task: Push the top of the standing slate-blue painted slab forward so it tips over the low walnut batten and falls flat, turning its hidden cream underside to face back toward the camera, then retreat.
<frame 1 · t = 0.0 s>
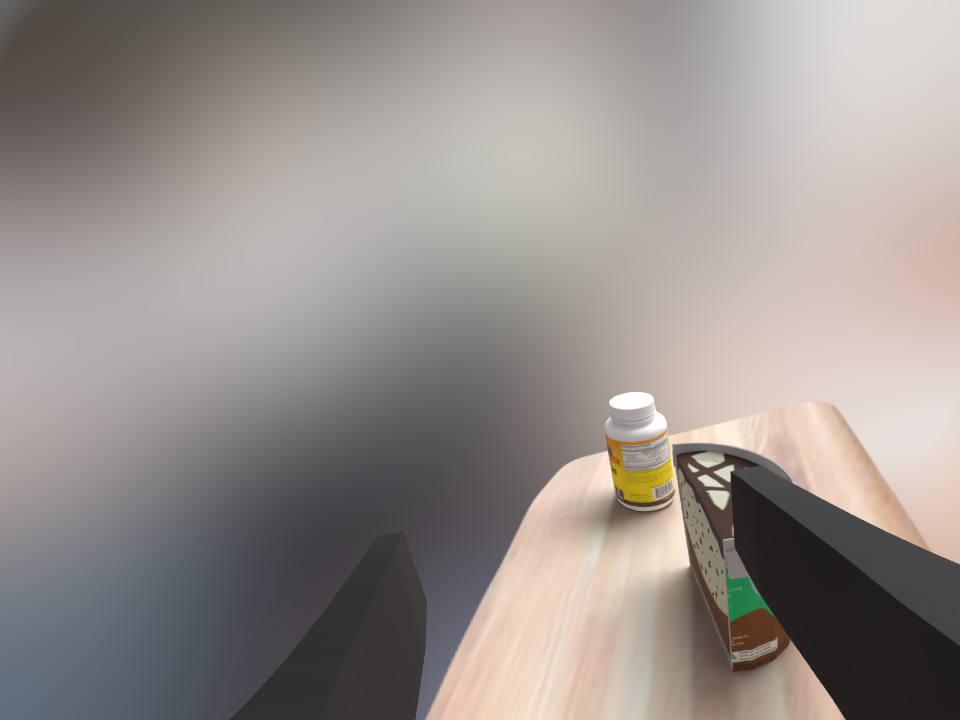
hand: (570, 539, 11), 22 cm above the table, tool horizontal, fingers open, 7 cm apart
food container: (756, 610, 34), on the table
supplement bottle: (645, 499, 49), on the table
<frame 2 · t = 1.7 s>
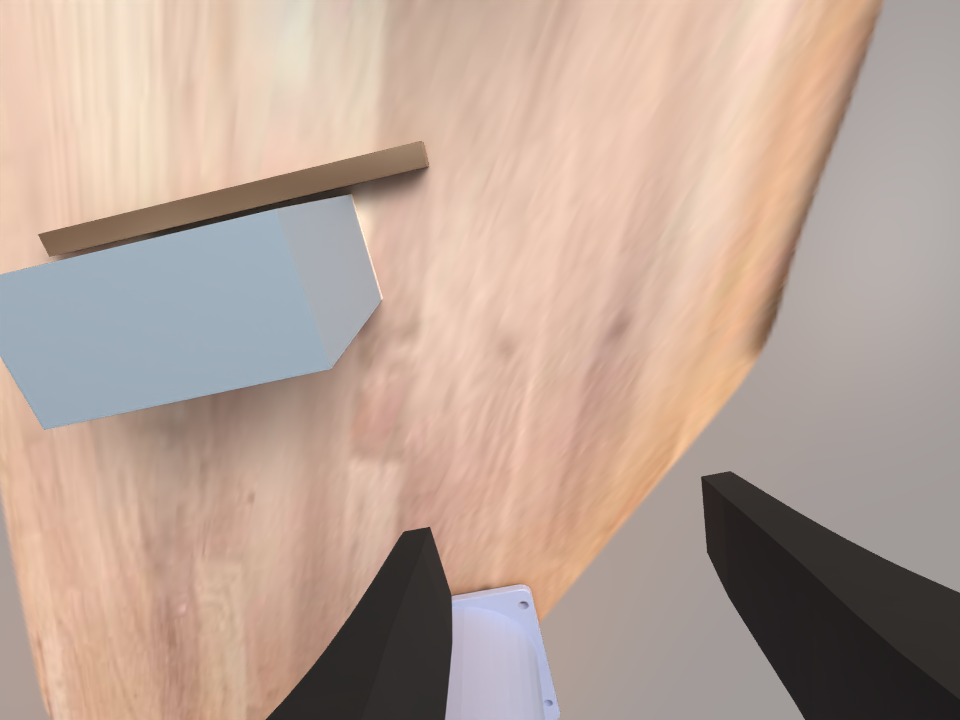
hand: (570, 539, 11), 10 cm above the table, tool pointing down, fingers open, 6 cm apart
block: (268, 270, 19), on the table
batten: (240, 199, 18), on the table
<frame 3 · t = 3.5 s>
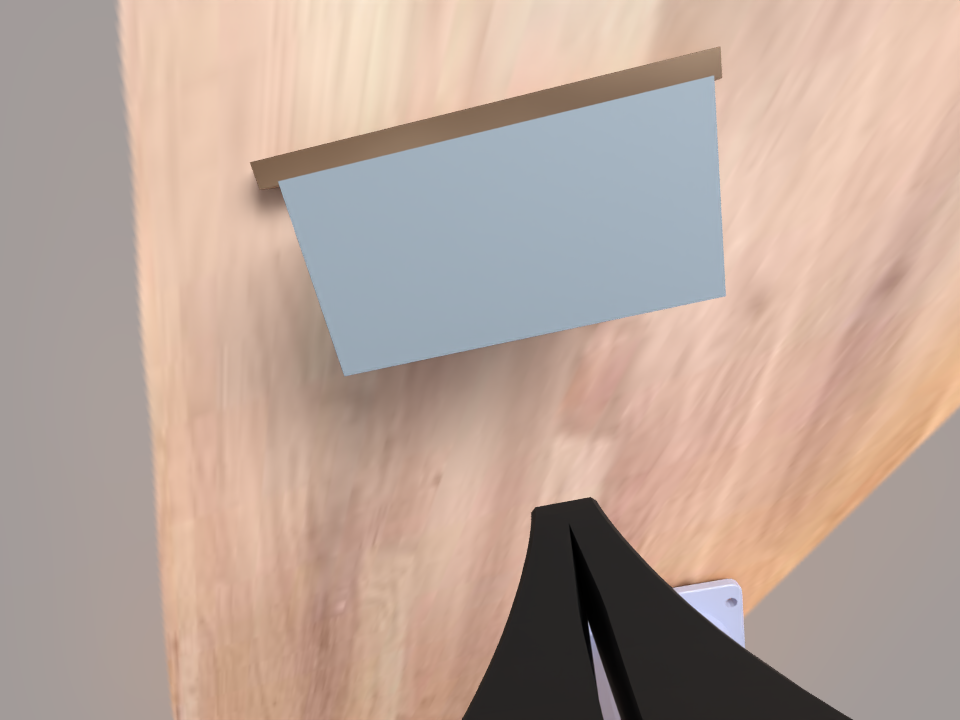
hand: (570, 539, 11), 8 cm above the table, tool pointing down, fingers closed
block: (497, 211, 17), on the table
batten: (479, 124, 16), on the table
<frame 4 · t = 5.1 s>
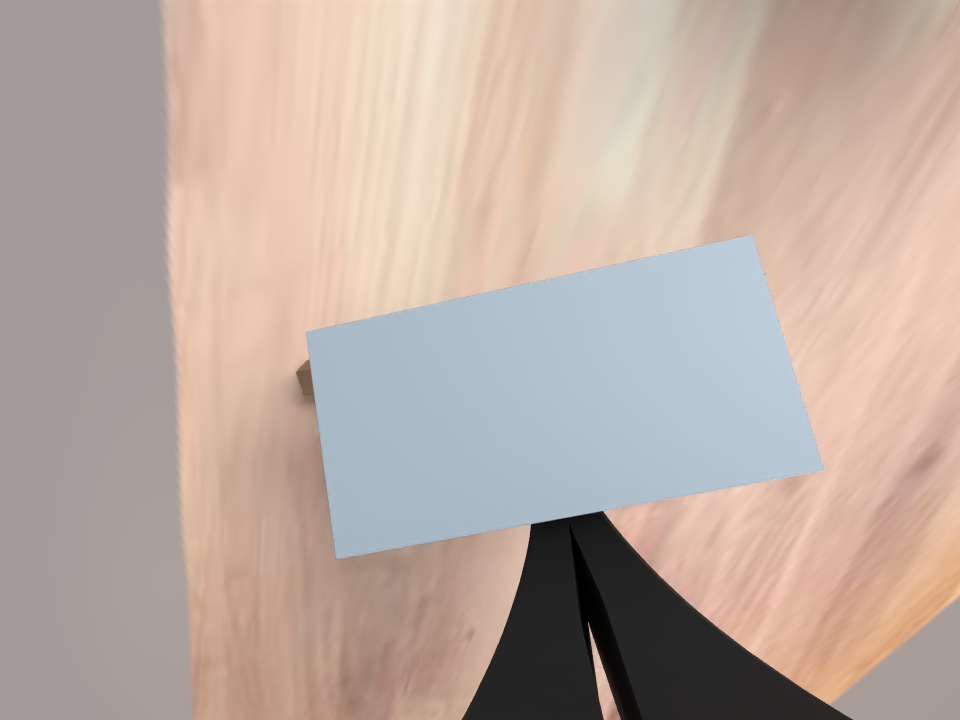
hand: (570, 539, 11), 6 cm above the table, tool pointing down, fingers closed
block: (540, 417, 16), point 1 cm above the table, tilted 30°, touching batten
batten: (522, 327, 16), on the table
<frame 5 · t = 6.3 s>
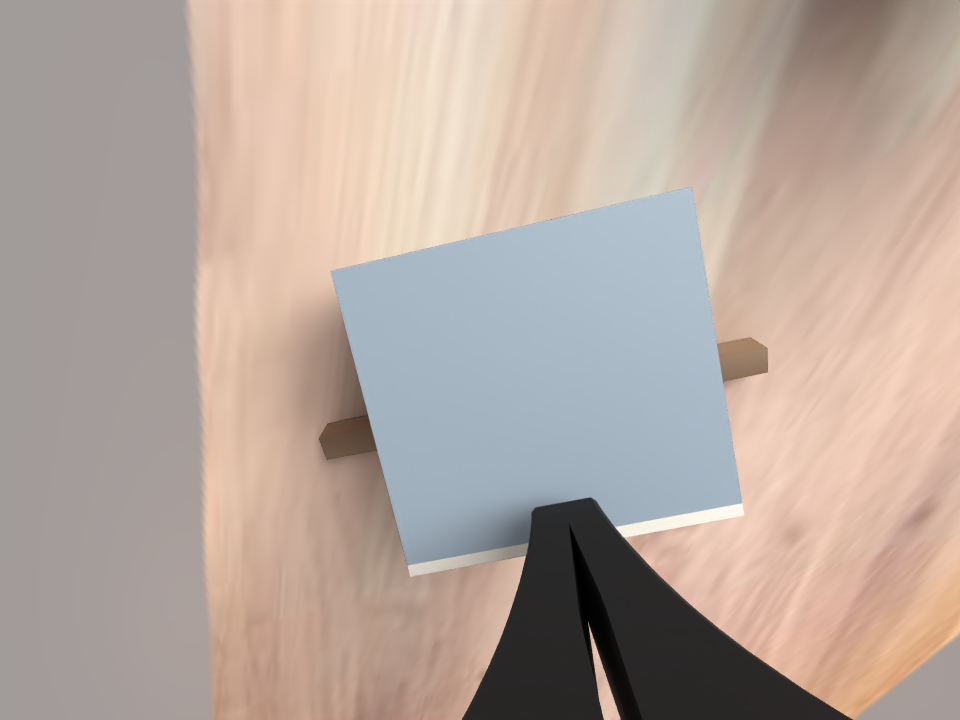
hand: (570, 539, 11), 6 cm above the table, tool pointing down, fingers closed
block: (563, 509, 14), point 4 cm above the table, tilted 102°, touching batten
batten: (534, 392, 17), on the table
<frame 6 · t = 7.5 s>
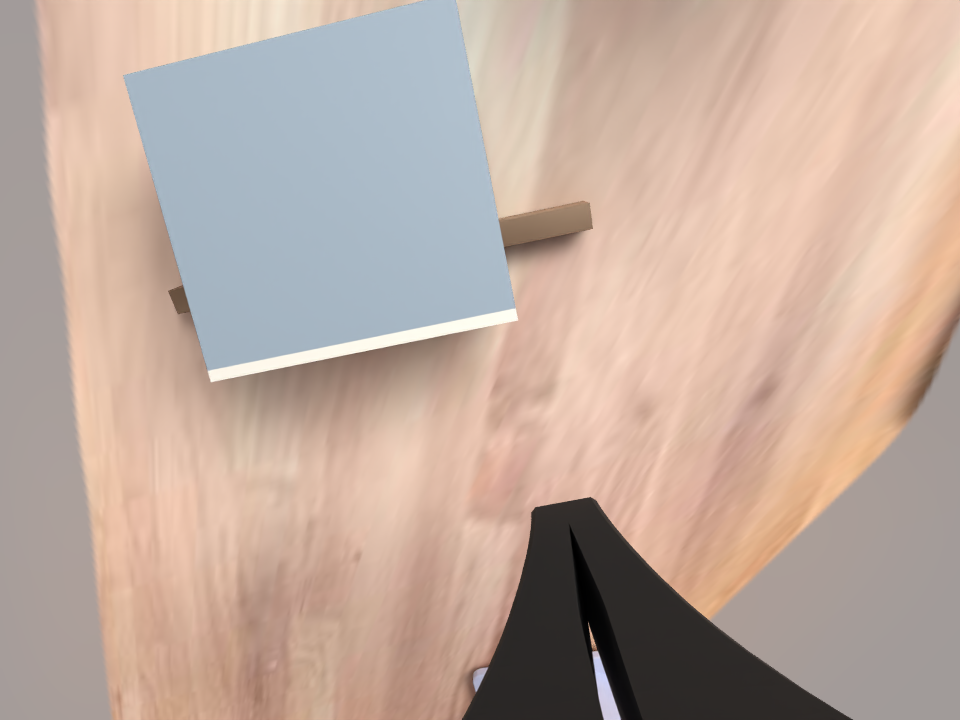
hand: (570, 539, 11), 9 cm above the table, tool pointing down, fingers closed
block: (379, 342, 15), point 4 cm above the table, tilted 102°, touching batten
batten: (381, 255, 17), on the table
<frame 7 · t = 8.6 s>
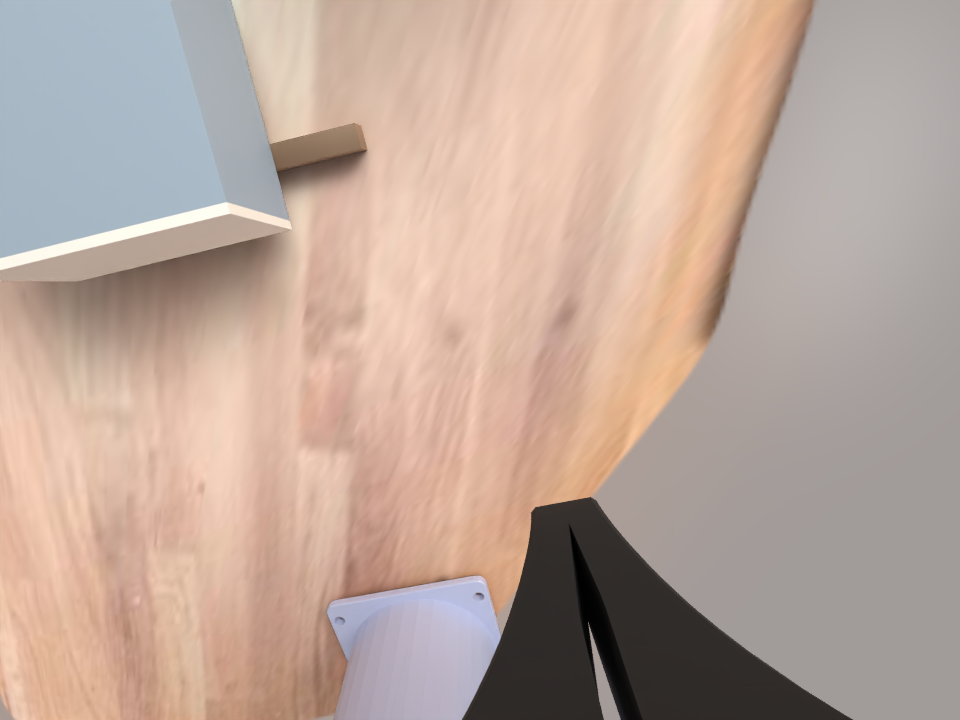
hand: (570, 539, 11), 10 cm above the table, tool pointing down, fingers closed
block: (142, 252, 16), point 4 cm above the table, tilted 102°, touching batten
batten: (178, 183, 18), on the table
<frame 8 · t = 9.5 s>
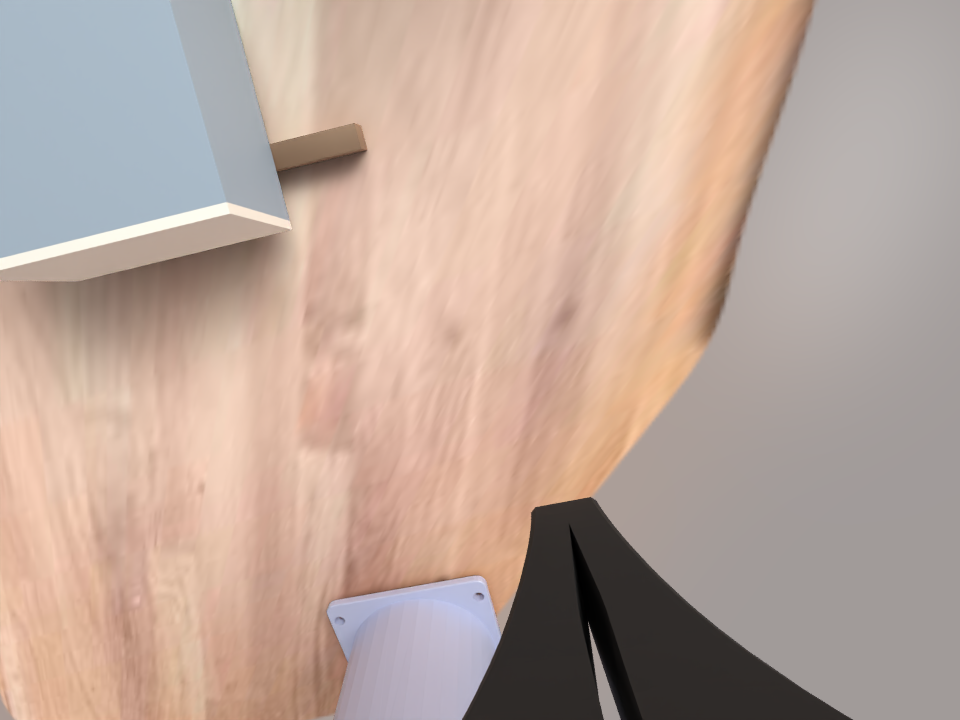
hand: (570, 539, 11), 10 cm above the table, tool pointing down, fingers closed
block: (142, 252, 16), point 4 cm above the table, tilted 102°, touching batten
batten: (178, 183, 18), on the table
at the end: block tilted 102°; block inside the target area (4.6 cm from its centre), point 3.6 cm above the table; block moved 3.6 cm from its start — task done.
